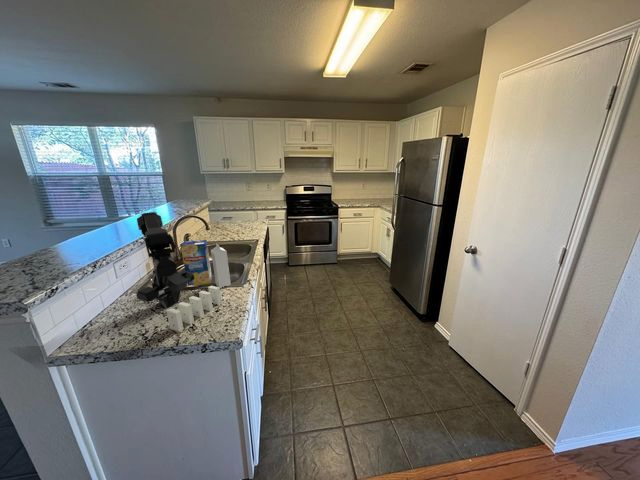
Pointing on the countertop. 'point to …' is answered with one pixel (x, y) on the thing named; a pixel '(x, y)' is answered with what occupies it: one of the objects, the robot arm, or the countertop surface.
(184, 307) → the domino
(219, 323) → the countertop surface
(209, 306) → the domino
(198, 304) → the domino
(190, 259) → the blue cardboard box
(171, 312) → the domino
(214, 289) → the domino
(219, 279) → the milk
